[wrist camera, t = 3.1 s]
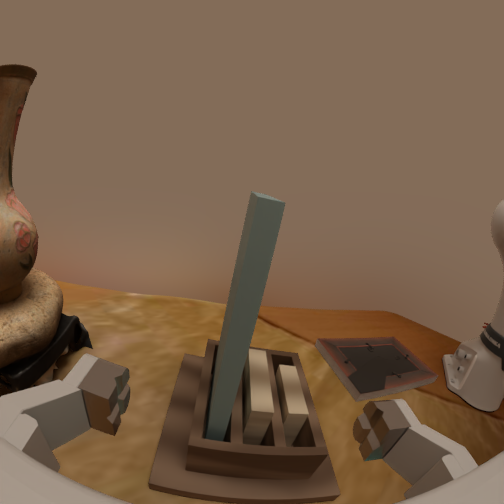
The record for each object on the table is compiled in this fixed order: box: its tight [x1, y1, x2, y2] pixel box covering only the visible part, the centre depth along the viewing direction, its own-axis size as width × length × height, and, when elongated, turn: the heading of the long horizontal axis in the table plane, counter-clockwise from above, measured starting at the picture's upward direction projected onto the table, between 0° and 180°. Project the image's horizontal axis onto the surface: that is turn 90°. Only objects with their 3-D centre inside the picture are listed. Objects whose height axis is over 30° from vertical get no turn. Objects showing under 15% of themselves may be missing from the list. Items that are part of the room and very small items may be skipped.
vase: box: [0, 64, 93, 392], centre depth 21 cm, size 24×22×35 cm
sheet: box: [204, 192, 285, 442], centre depth 24 cm, size 12×2×24 cm, turn 2°
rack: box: [149, 339, 340, 504], centre depth 27 cm, size 22×18×6 cm
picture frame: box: [315, 337, 438, 402], centre depth 45 cm, size 16×2×22 cm
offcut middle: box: [242, 349, 274, 446], centre depth 26 cm, size 10×2×7 cm, turn 2°
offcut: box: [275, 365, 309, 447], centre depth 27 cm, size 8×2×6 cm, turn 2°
